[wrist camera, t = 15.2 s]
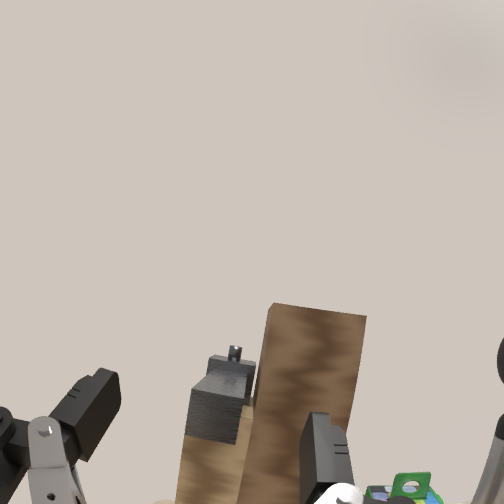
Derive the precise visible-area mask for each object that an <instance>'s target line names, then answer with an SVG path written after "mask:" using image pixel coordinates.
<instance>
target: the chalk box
mask: <svg viewBox="0 0 504 504" xmlns="http://www.w3.org/2000/svg"><path fill="white" fill-rule="evenodd" d="M430 479H431V473H430V472H415V473H398V474H397V475H396V476H395V479H394V482H393V486H368V487H367V490H366V494H365V496H366V497H369V498H373V499H377V500H382V501H388V500H389V499H390V498H392V497H394V496H399V495H401V496H407V497H409V498H411V499H412V500H413V501H415V503H416V504H444V503H443V500H442V499H441V497H440V496H439V495H437V494H436V493H435V492H434V491H433V489H432V488H431V487H430V486H429V483H430ZM409 481H417V482H418V483H419V485H420V486H403V485H404V484H405V483H406V482H409Z"/></svg>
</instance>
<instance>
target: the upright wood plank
mask: <svg viewBox="0 0 504 504" xmlns="http://www.w3.org/2000/svg"><path fill="white" fill-rule="evenodd" d="M366 317H367V316H363V315H356V314H348V313H340V312H334V311H326V310H319V309H312V308H305V307H298V306H291V305H286V304H279V303H273V304H272V306H271V307H270V308H269V310H268V315H267V321H266V327H265V333H264V339H263V345H262V351H261V356H260V362H259V367H258V374H257V379H256V384H255V390H254V396H253V397H250V402H249V406H246V405H243V406H242V412H241V417H240V423H239V428H238V434H237V439H236V445H231V444H226V443H220V442H215V441H210V440H205V439H200V438H196V437H191V436H187V435H185V434H184V441H183V448H182V455H181V463H180V470H179V476H178V484H177V493H176V500H175V504H300V469H299V443H300V438H301V434H302V432H303V429H304V426H305V424H306V421H307V418H308V415H309V413H310V412H311V411H312V412H324V413H329V415H330V421H331V425H337V426H340V427H341V429H342V430H343V431H344V433H345V434H346V431H347V427H348V422H349V418H350V413H351V408H352V403H353V399H354V393H355V388H356V383H357V377H358V371H359V365H360V359H361V353H362V346H363V338H364V332H365V324H366Z"/></svg>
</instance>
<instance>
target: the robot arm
mask: <svg viewBox="0 0 504 504" xmlns="http://www.w3.org/2000/svg"><path fill="white" fill-rule="evenodd" d="M497 368H498V373H499V376H500V378H501V380H502V382H503V383H504V338H503V340H502V342H501V344H500V347H499V350H498V355H497ZM120 405H121V392H120V385H119V377H118V374H117V373H116V372H114V371H110V370H107V369H104V368H100V369H98V370H97V372H96V373H95V374H94V375H93V376H89V375H87V376H85V377H83V378H82V379H80V380H78V381H77V382H76V384H75V385H74V386H73V387H72V389H71V390H70V391H69V392H68V393H67V395H66V396H65V397H64V398H63V399H62V400H61V401H60V403H59V404H58V405H57V407H56V408H55V409H54V410H53V411H52V412H51V414H50V415H49V416H48V417H47V416H42V417H37V418H35V419H33V420H32V421H31V422H28V421H24V420H19V419H14V418H13V417H12V415H11V412H10V411H9V410H8V409H6V408H4V407H0V504H8V502H9V500H10V499H11V497H12V495H13V493H14V492H15V490H16V488H17V487H18V485H19V483H20V482H21V480H22V478H23V477H24V475H25V473H26V472H27V470H28V480H29V487H30V493H31V499H32V504H87V503H86V501H85V498H84V494H83V491H82V488H81V484H80V481H79V476H78V472H77V469H76V465H75V464H76V462H77V460H78V459H80V460H83V461H85V462H88V460H89V459H90V457H91V455H92V454H93V452H94V450H95V448H96V447H97V445H98V444H99V442H100V440H101V439H102V437H103V435H104V434H105V432H106V430H107V429H108V427H109V426H110V424H111V422H112V421H113V419H114V417H115V416H116V414H117V413H118V411H119V409H120ZM347 445H348V444H347V438H346V434H345V433H344V431H343V430H342V429H341V427H340V426H337V425H331V421H330V415H329V413H324V412H312V411H311V412H310V413H309V415H308V418H307V421H306V424H305V426H304V429H303V432H302V434H301V438H300V443H299V469H300V504H416V503H415V501H413V500H412V499H411V498H409V497H407V496H401V495H399V496H394V497H392V498H390V499H389V500H388V501H382V500H377V499H373V498H369V497H366V496H364V495H363V494H362V493H361V491H360V490H359V489H358V488H357V487H355V484H354V479H353V473H352V467H351V461H350V456H349V450H348V447H347ZM471 504H504V414H503V415H502V416H501V417H500V418H499V420H498V423H497V427H496V431H495V435H494V438H493V442H492V446H491V449H490V452H489V456H488V459H487V462H486V465H485V468H484V471H483V474H482V477H481V480H480V482H479V485H478V488H477V490H476V493H475V495H474V497H473V500H472V502H471Z"/></svg>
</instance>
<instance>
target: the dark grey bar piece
mask: <svg viewBox="0 0 504 504" xmlns="http://www.w3.org/2000/svg"><path fill="white" fill-rule="evenodd" d="M241 352H242V347H238V346H231V345H230V349H229V354H228V357H224V356H219V355H213V356H211V357H210V358H209V361H208V368H207V373H206V376H205V377H204V378H203V379H202V380H201V381H200V382H198V383H197V384H196V385H195V386H194V387H193V388H192V390H191V396H190V402H189V408H188V415H187V421H186V428H185V435H187V436H191V437H196V438H200V439H205V440H210V441H215V442H220V443H226V444H231V445H236V439H237V434H238V428H239V423H240V417H241V412H242V406H243V405H246V406H249V402H250V397H251V391H252V385H253V380H254V374H255V368H256V362H253V361H247V360H241V359H240V358H241Z"/></svg>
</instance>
